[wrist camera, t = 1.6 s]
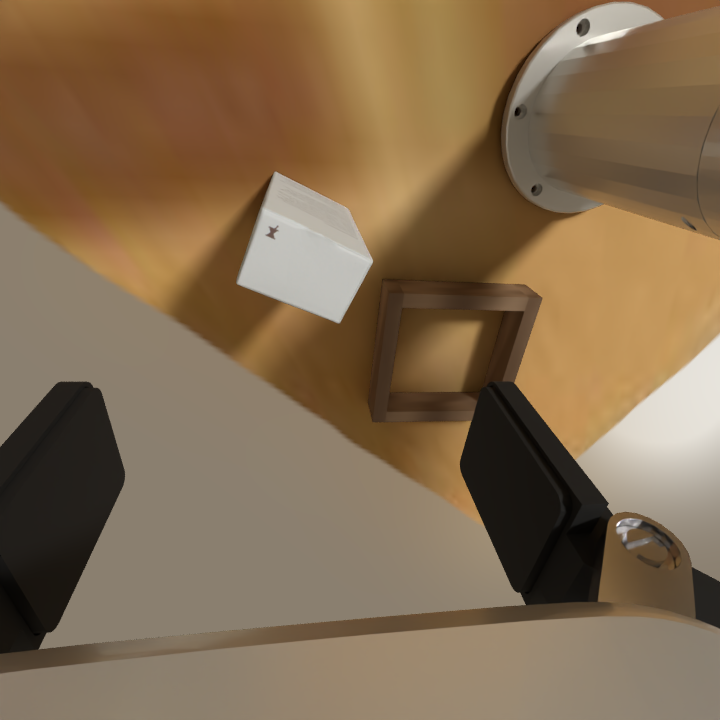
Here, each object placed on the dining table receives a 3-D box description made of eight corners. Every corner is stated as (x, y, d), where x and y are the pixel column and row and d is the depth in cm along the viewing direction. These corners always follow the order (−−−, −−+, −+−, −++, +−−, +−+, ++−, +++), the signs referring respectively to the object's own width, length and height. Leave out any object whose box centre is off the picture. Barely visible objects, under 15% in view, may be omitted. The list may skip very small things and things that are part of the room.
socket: (525, 284, 36) (542, 298, 33) (489, 401, 42) (501, 420, 40) (382, 279, 34) (389, 293, 31) (367, 402, 40) (372, 422, 38)
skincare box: (253, 225, 30) (230, 284, 20) (274, 169, 29) (260, 203, 19) (327, 259, 33) (340, 327, 22) (351, 208, 31) (376, 258, 21)
